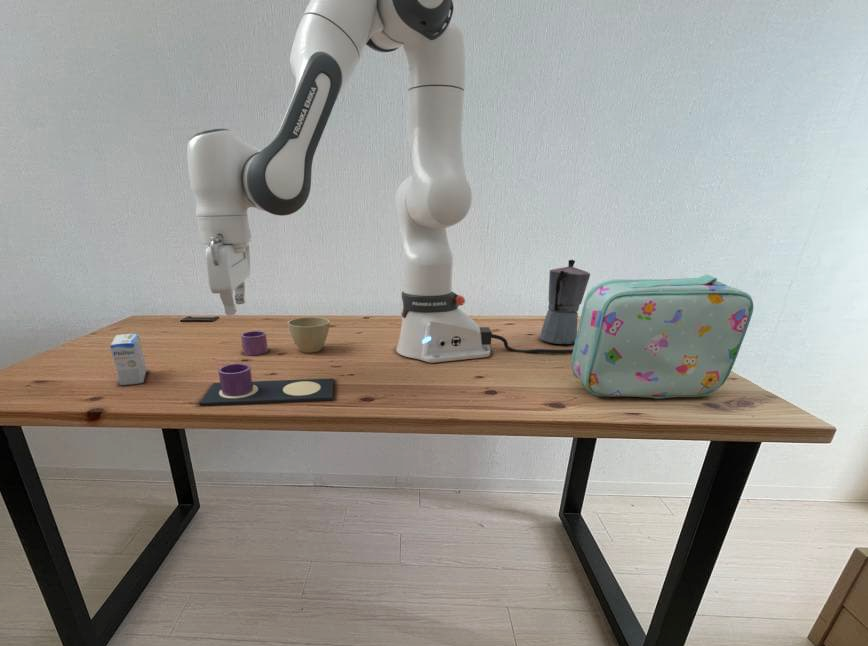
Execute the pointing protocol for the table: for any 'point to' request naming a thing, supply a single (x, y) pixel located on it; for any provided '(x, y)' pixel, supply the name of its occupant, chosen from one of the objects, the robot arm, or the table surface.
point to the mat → (274, 392)
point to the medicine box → (128, 359)
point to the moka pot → (564, 304)
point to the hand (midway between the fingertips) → (236, 308)
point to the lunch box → (659, 337)
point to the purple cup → (254, 343)
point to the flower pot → (309, 333)
